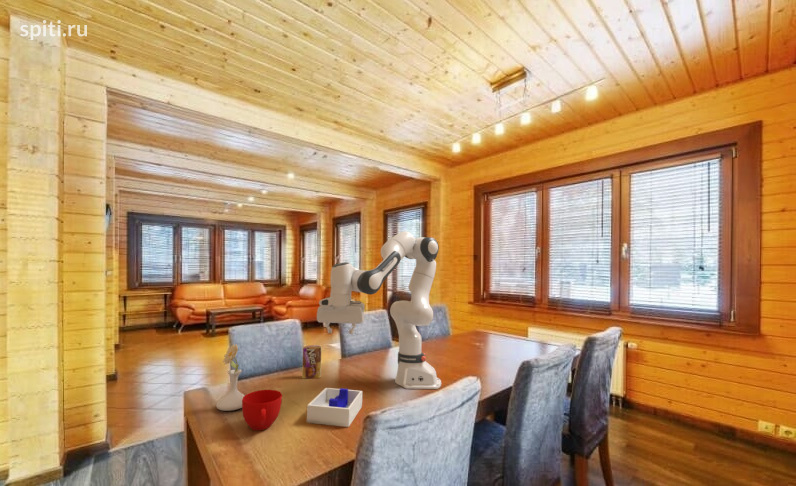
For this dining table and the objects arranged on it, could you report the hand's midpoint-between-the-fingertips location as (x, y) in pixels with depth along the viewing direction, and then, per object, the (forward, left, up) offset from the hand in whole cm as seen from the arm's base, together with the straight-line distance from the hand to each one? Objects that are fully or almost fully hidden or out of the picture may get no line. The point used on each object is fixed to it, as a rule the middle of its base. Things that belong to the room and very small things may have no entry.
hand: (340, 333), depth 142 cm
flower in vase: (+37, +17, -28) cm, 49 cm away
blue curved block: (-4, +12, -26) cm, 29 cm away
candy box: (+22, -24, -28) cm, 43 cm away
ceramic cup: (+17, +29, -28) cm, 44 cm away
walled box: (-4, +13, -27) cm, 30 cm away
